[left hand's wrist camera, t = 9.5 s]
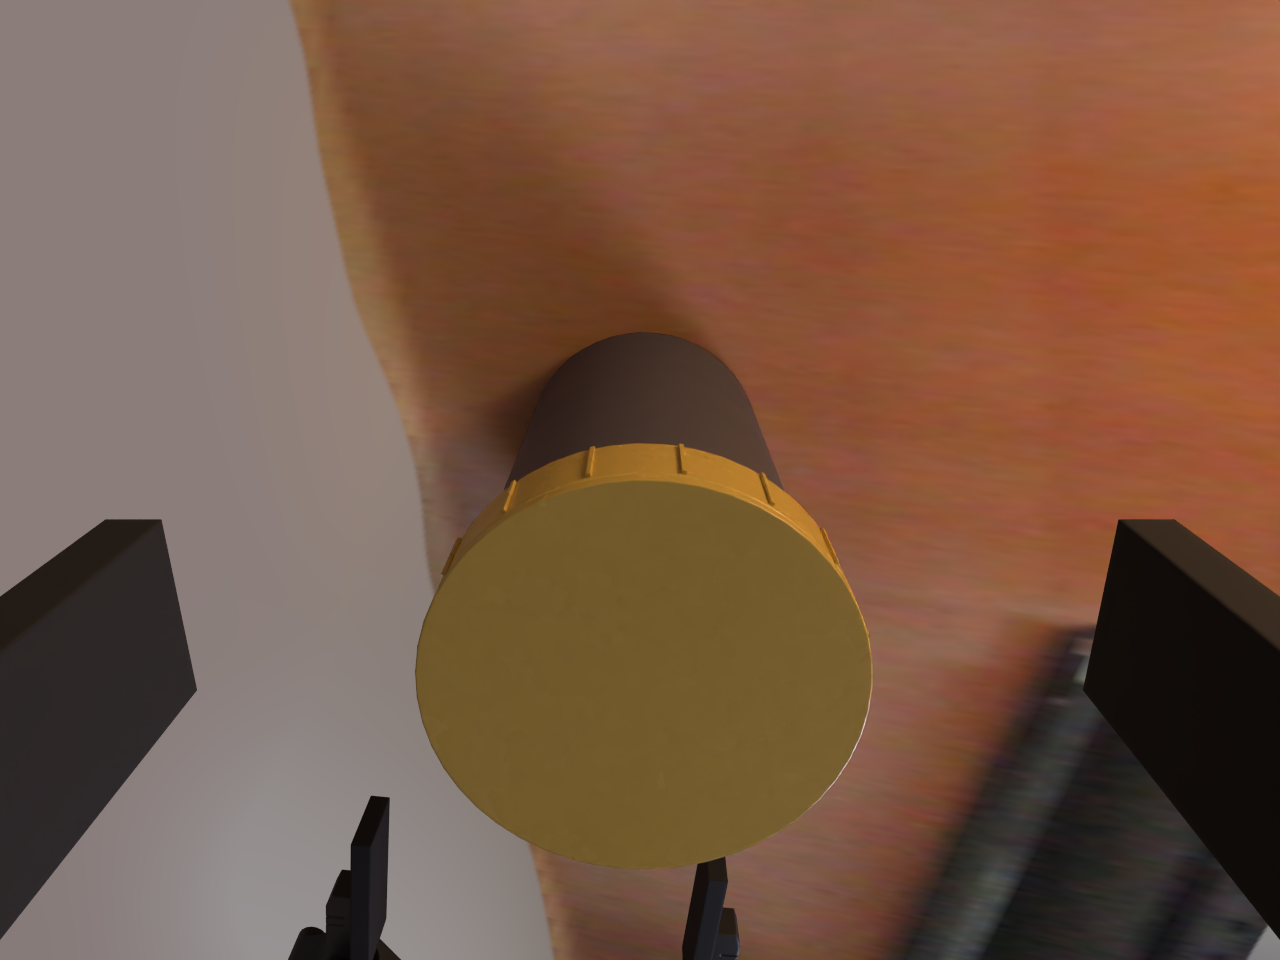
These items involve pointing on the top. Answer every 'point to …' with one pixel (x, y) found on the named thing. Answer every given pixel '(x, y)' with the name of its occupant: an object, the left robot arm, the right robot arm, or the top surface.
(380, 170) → the top surface
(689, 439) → the screw-top jar
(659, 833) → the lid
